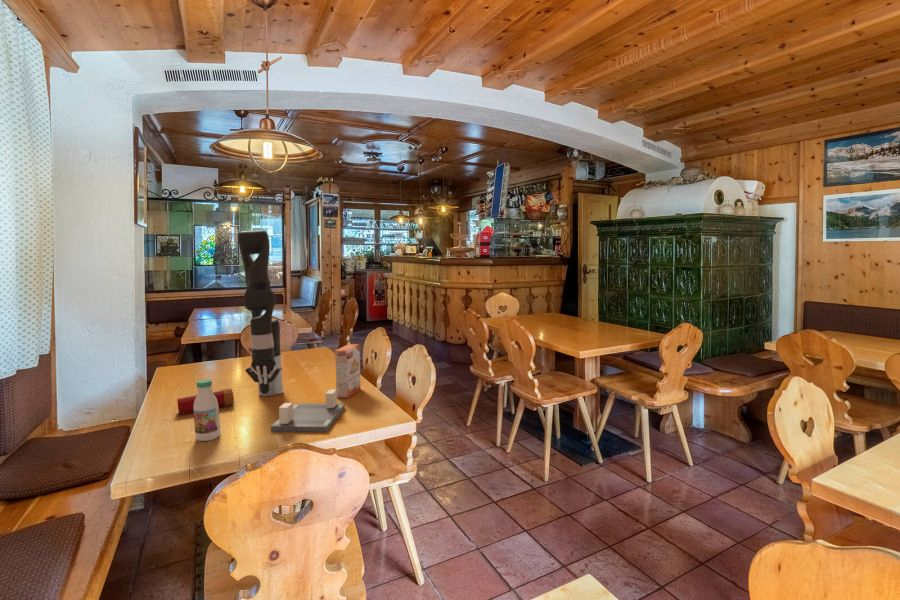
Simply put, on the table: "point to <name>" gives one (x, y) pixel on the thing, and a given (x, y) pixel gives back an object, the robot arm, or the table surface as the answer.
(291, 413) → the beige rectangular block
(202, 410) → the milk bottle
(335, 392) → the handle
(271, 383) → the robot arm
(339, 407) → the breaker panel
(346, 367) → the cracker box
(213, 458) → the table surface
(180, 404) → the red tube
